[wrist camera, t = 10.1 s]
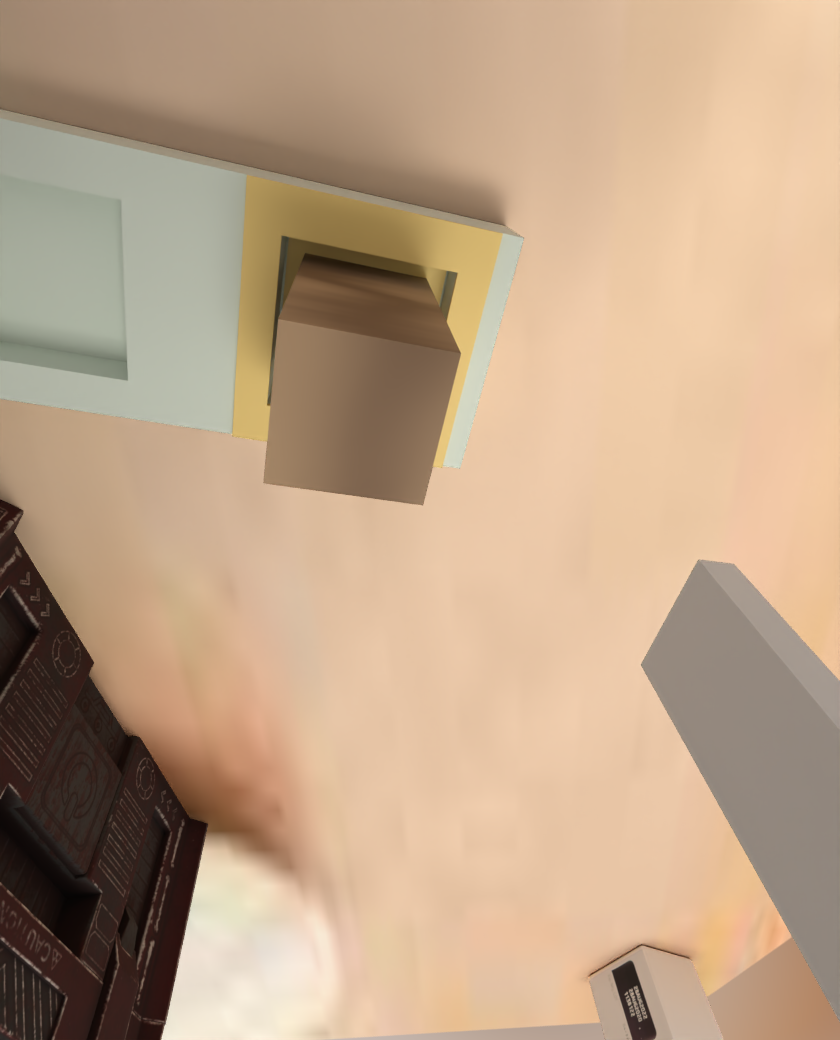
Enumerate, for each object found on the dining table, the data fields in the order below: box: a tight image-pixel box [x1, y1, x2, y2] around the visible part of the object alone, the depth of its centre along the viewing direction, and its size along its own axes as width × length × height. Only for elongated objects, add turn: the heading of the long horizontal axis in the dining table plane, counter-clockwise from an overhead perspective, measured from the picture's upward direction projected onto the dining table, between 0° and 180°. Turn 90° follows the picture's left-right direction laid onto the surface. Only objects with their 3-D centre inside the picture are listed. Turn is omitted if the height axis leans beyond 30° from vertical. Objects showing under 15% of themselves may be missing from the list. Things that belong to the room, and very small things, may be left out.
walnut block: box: [264, 253, 461, 505], centre depth 20 cm, size 4×4×9 cm
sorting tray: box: [0, 109, 524, 469], centre depth 21 cm, size 32×9×3 cm, turn 78°
